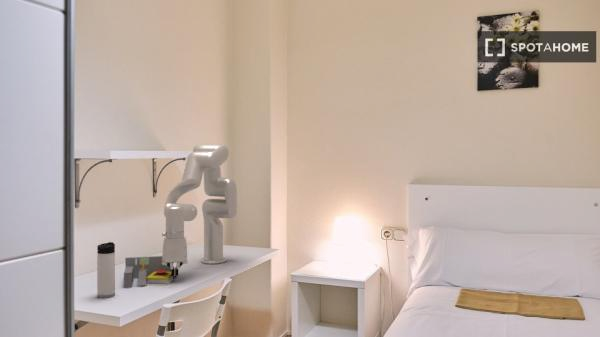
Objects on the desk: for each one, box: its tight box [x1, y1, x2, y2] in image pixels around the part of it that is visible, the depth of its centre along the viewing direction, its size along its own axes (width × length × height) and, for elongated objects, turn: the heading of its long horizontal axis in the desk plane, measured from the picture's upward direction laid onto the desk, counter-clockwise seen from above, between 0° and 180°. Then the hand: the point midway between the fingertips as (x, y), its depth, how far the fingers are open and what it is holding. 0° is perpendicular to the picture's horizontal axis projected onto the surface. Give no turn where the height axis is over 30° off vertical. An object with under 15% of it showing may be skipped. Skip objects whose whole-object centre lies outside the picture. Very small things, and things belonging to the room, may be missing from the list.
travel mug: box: [96, 241, 116, 299], centre depth 188 cm, size 6×7×20 cm
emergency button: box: [144, 270, 174, 287], centre depth 210 cm, size 9×4×15 cm
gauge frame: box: [123, 255, 171, 289], centre depth 209 cm, size 16×20×9 cm
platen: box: [137, 261, 147, 287], centre depth 207 cm, size 11×3×8 cm, turn 15°
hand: (174, 277), depth 210 cm, fingers closed
